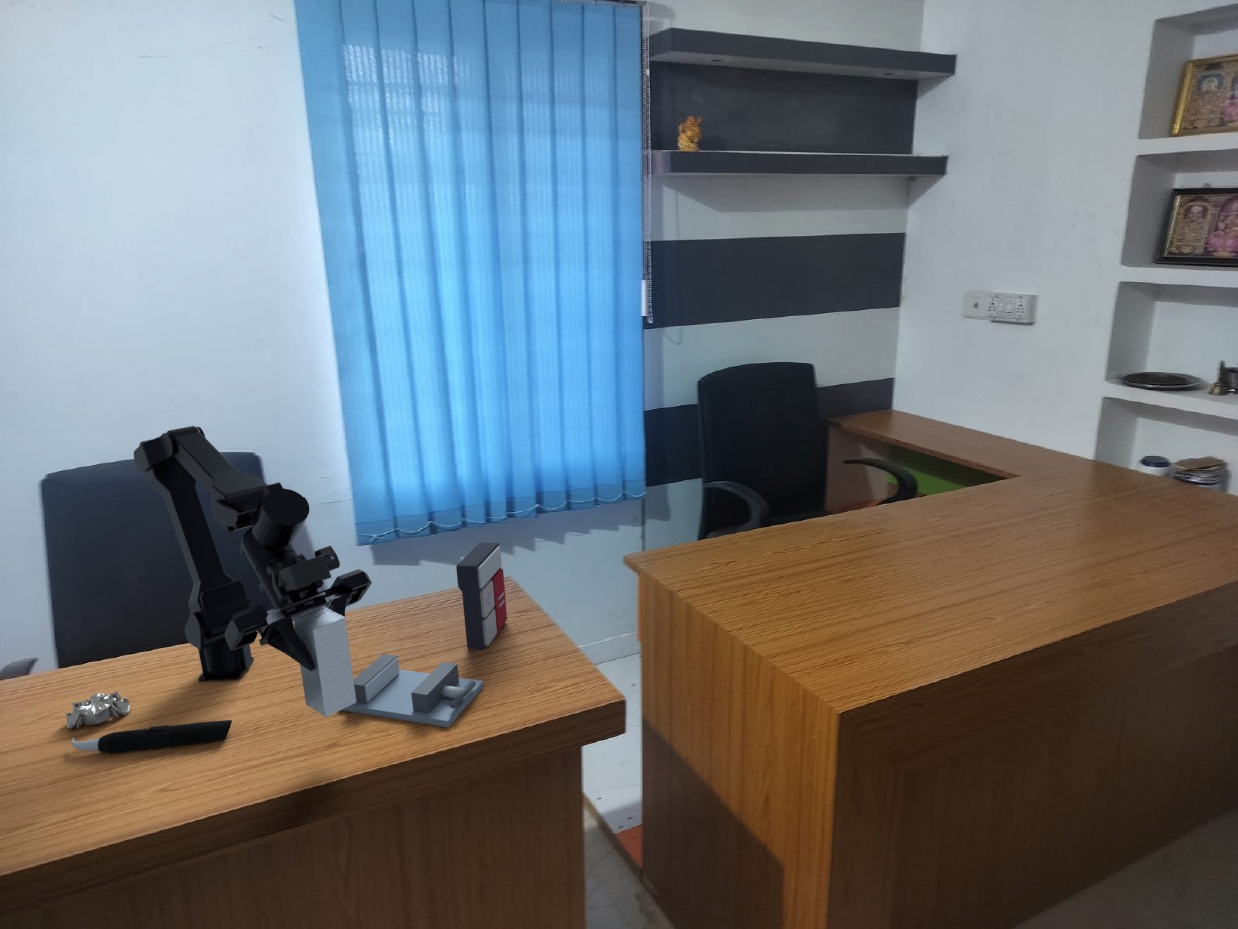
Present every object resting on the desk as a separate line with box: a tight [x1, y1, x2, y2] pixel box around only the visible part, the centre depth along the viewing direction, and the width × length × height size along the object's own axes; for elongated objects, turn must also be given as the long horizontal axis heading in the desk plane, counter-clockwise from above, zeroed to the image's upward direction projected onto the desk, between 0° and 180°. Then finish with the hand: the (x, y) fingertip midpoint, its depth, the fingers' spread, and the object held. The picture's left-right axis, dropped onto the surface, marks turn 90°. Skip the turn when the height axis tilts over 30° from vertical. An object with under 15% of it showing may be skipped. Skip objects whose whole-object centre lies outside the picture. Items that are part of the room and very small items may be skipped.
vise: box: [341, 653, 485, 728], centre depth 123 cm, size 18×11×4 cm, turn 73°
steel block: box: [292, 607, 356, 718], centre depth 109 cm, size 4×5×12 cm
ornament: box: [65, 691, 131, 730], centre depth 121 cm, size 8×7×4 cm
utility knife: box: [71, 719, 233, 754], centre depth 114 cm, size 22×4×3 cm, turn 99°
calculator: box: [455, 541, 508, 650], centre depth 140 cm, size 11×4×15 cm, turn 168°
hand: (330, 662), depth 108 cm, fingers closed on steel block, 4 cm apart
